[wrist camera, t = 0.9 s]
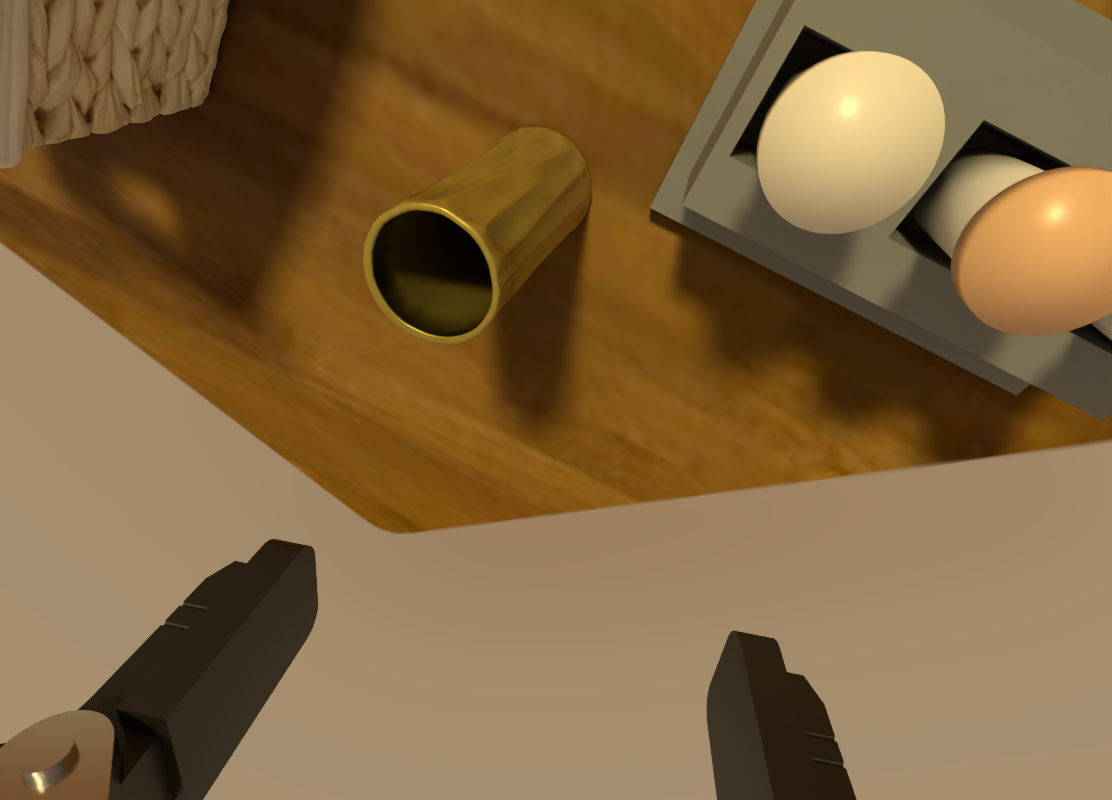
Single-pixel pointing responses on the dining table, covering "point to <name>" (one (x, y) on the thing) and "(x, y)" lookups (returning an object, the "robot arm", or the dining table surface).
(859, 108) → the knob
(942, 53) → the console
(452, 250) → the vase
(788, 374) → the dining table surface
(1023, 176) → the knob mid
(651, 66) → the dining table surface
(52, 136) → the storage basket
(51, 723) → the robot arm
